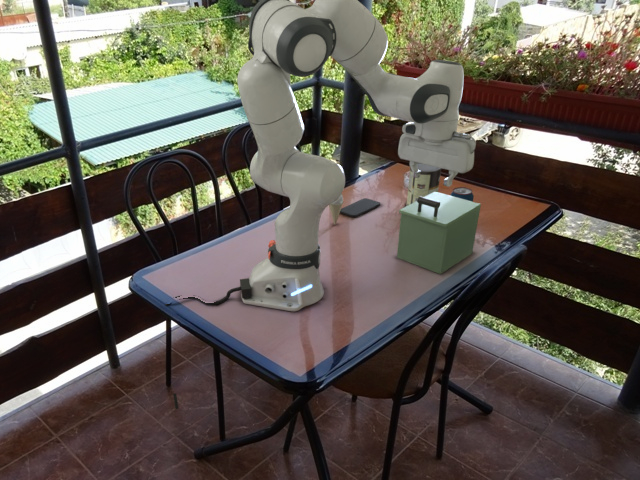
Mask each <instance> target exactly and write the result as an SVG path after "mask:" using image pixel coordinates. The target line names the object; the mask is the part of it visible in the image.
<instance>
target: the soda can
mask: <svg viewBox="0 0 640 480" xmlns="http://www.w3.org/2000/svg"><path fill="white" fill-rule="evenodd" d="M450 196H454V197H457V198H461V199H465V200H468V201H472V202H474V193H473V189H472V188H469V187H466V186H457V187H454V188H453V189H452V191H451V193H450Z"/></svg>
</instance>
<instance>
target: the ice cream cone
mask: <svg viewBox="0 0 640 480" xmlns="http://www.w3.org/2000/svg"><path fill="white" fill-rule="evenodd" d="M343 204H344V195H343V193H342V194H341V195H340V197H339V198H338V199H337V200H336V201H335V202H333V203H332V204H330V205H328V207H329V210H330V213H331V218H332V221H333V225H337V222H338V220H339V216H340V214H341V213H340V210H341V209H342V208H343Z"/></svg>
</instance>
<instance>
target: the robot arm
mask: <svg viewBox="0 0 640 480" xmlns="http://www.w3.org/2000/svg"><path fill="white" fill-rule="evenodd" d="M248 33H249V35H248V44H247V48H248V51H249V52H250V54H251V55H252V58H250V59H249V60H248V61H246V62H245V63H244V64H243V65H242V66H241V68H240V69H239V70H238V74H237V79H236V80H237V87H238V92H239V93H238V94H239V97H240V100H241V101H240V102H241V104H242V107H243V110H244V111H243V112H244V114H245V117H246V119H247V121H248V123H249V126H250V128H251V131H252V133H253V136H254V139H255V141H256V145H257V151H256V152H255V154H254V155H253V157H252V159H251V161H250V166H249V174H250V178H251V181H252V182H253V183H254V184H255V185H257V186H258V187H260V188H262V189H263V190H265V191H267V192H270V193H273V194H276V195H280V196H283V197H287V198H288V199H289V202H290V203H289V208H286V209H284V210H282V211H281V212H280V213H279V214H278V215H277V217H276V219H275V221H274V240H273V239H271V240H270V241H269V242H268V247H267V248H268V250H267V257H266V258H265V259H262V260H261V261H260V262H258V263H256V264H255V265H254V267H253V268H252V270H251V272H250V275H249V277H246V278H240V279H239V285H240V286H237V287H234V288H231V289H229V290H228V291H227V292H226V296H224V297H223V298H221V299H218V300H215V301H216V302H214V303H205V302H203V301H201V300H200V299H198V298H195V297H188V298H183V299H182V300H197V301H198V302H200V303H201V304H204V305H206V306H217V305H220V304H223V303H225V302H226V301H228V300H229V298H231V295H232V294H233V293H237V292H239V291H240V298H241V301H242V302H243V304H246V305H250V306H258V307H263V308H268V309H274V310H275V309H276V310H282V311H288V312H298V311H300V310H302V309H303V308H305V307H307V306H311V305H314V304H315V303H317V302H319V301H320V300H321V299H322V298H323V297H324V294H325V289H324V287H323V283H322V279H321V273H320V266H321V245H320V244H319V233H320V232H319V231H320V221H321V217H322V216H323V212H324V211H325V209H327V208H328V207H329V205H330V204H332V203H333V202H335V201H336V200H337V199H338V198H339V197H340V195H341V194H342V195H343V191H344V190H345V186H346V175H345V170H344V169H343V166H341V165H340V164H339V163H338V162H335V161H333V160H331V159H329V158H327V157H324V156H321V155H316V154H311V153H306V152H303V151H301V150H299V149H298V148H297V147H296V146H298V144H299V143H300V142H301V140H302V138H303V135H304V133H305V124H304V122H303V118H302V114H301V111H300V108H299V106H298V103H297V100H296V97H295V94H294V90H293V89H292V83H291V75H292V76H294V77H297V78H306V77H309V76H312V75H314V74H315V73H317V72H318V71H319V70H320V69H321V68H322V67H323V66H324V65H325V64H326V63H327V61H328V60H329V58H330V56H331V58H333V60H334V61H336V62H337V63H338V64H339V65H340V66H341V67H342V68H344V70H345V71H346V72H347V73H348V75H349V76H350V77H351V78H352V79H353V80H354V81H355V83H356V84H357V85H358V86H359V87H360V88H361V90H363V92H364V94H365V95H366V97H367V99H368V102H369V104H370V107H371V109H372V110H373V112H374V113H375V114H377V115H379V116H382V117H388V118H394V119H397V120H401V121H405V122H407V123H405V124H403V125H402V128H401V131H402V134H401V136H400V138H399V141H398V149H397V156H398V157H399V159H400V160H405V161H409V164H408V165H409V168H410V167H411V170H412V171H413V172H412V177H413V178H419V177H420V173H421V171H420V170H418V167H417V164H418V163H421V164H426V165H430V166H434V167H438V168H442V169H441V170H446V171H447V170H448V175H449V176H448V177H446V178H444V179H443V184H442V185H443V186H445V187H451V186H452V185H453V180H454V178H456V176H457V175H458V174H466V173H468V172H470V171H471V170H472V169H473V167H474V165H475V164H474V163H475V150H476V145H477V141H476V139H475V137H473V136H472V135H471V134H468V133H463V132H459V131H458V124H459V118H460V113H459V106H460V104H461V101H462V97H463V90H464V80H465V79H464V78H465V74H464V73H465V72H464V66H463V65H462V64H461V63H460V62H457V61H451V60H446V59H445V60H444V59H434V60H432V61H430V63H429V67H428V68H427V69H426V70H425V71H424V72H423V73H422V74H420V76H418V77H416V78H414V77H408V76H402V75H399V74H395V73H392V72H387V71H385V70H384V68H383V67H382V66H381V65H380V63H381V62H382V61H383V59H384V57H385V55H386V52H387V49H388V44H389V37H388V34H387V32H386V30H385V28H384V26H383V24H381V22H380V21H379V20H378V18H377V17H376V16H375V15H373V13H372V12H371V11H370V10H369V9H368V8H367V7H366V6H365V5H364V4H363V3H362V2H360V1H359V0H314V2H313V4H312V5H311V6H310V7H308V8H304V7H302V6H300V5H298V4H297V3H294V2H292V1H291V0H259V1H258V2H257V3H256V4H255V5H254V7H253V9H252V10H251V13H250V16H249V20H248ZM180 296H181V295H177V296H174V297H175V298H177V297H180ZM179 300H181V299H179ZM179 300H178V301H179ZM170 305H171V304H166V303H165V304H164V306H165V307H169V306H170ZM172 396H173V403H174V409H175V410H178V409H179V403H178V397H177V393H175V392H173V393H172Z"/></svg>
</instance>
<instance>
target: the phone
mask: <svg viewBox="0 0 640 480" xmlns="http://www.w3.org/2000/svg"><path fill="white" fill-rule="evenodd" d="M379 206H381V202H380V201H377V200H374V199H370V198H361V199H360V200H357V201H355V202H353V203H351V204H348V205H347V206H344V207H341V210H340V213H339V214H343V215H345V216H348V217H350V218H351V217H352V218H357V217H358V216H359V217H360V216H361V215H363V214H365V213H367V212H370V211H371V210H373V209H375V208H377V207H379Z"/></svg>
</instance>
